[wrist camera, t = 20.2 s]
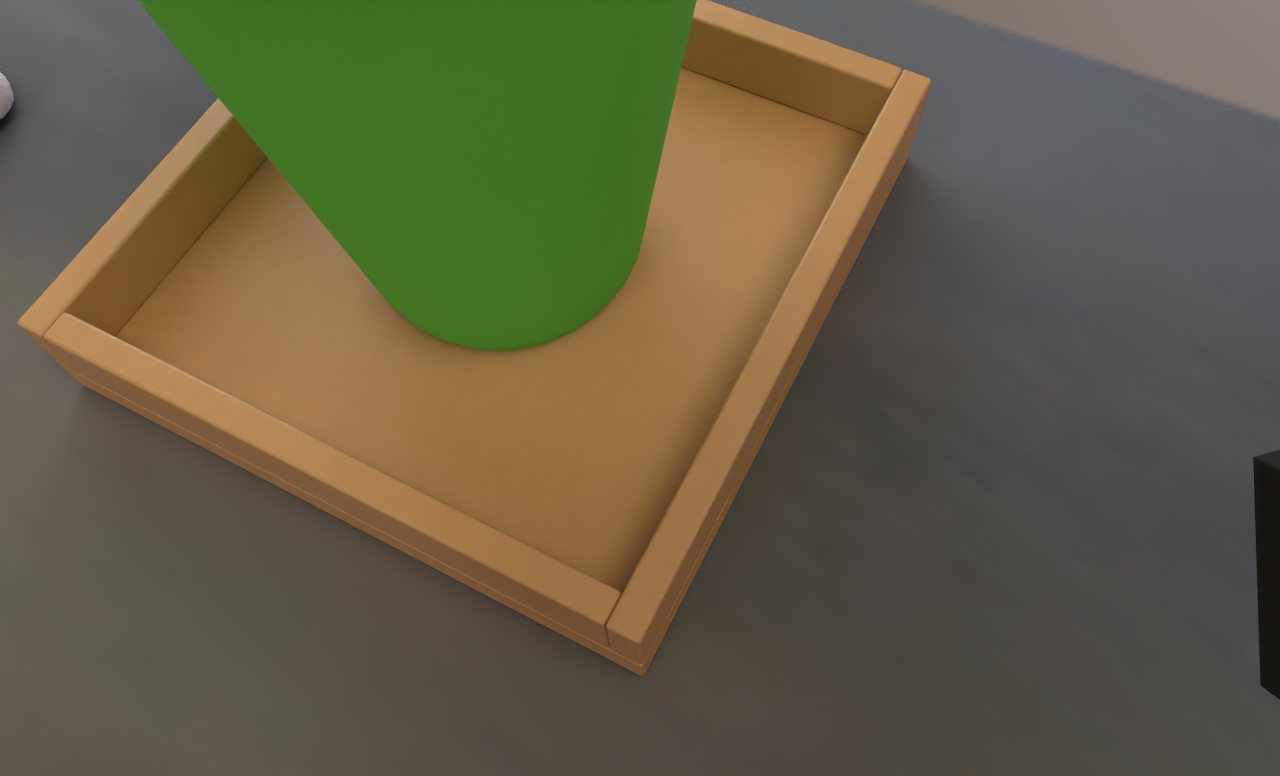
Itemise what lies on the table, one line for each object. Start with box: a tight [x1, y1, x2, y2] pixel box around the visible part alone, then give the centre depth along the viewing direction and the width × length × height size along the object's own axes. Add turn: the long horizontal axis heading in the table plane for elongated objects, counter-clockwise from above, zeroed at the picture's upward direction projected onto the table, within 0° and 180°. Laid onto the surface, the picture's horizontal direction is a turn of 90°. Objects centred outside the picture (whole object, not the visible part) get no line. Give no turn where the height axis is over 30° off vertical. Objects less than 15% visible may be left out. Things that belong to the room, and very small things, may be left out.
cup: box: [137, 0, 697, 351], centre depth 16 cm, size 9×9×11 cm
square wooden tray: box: [17, 0, 931, 676], centre depth 20 cm, size 12×12×2 cm
